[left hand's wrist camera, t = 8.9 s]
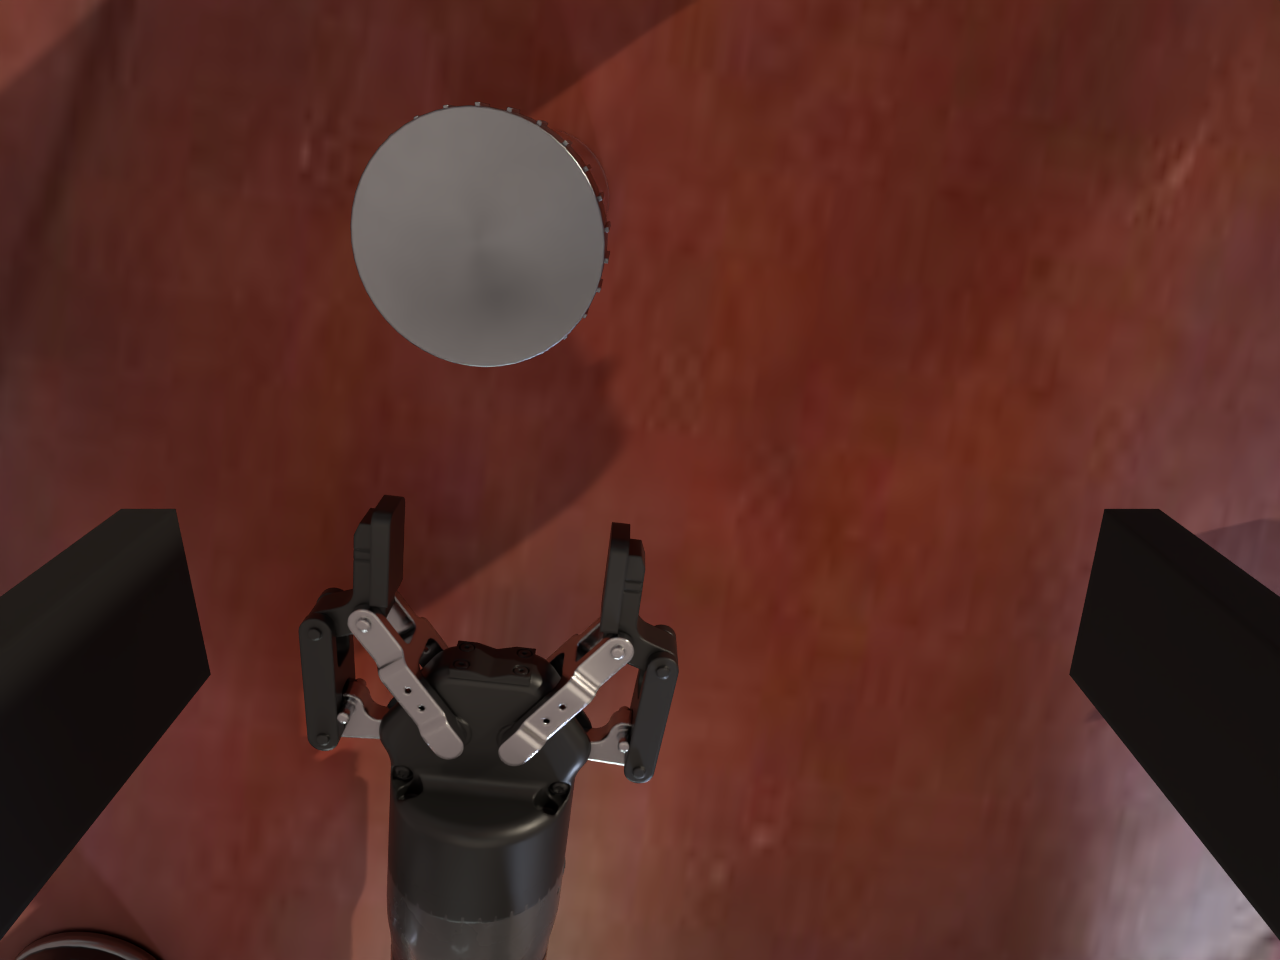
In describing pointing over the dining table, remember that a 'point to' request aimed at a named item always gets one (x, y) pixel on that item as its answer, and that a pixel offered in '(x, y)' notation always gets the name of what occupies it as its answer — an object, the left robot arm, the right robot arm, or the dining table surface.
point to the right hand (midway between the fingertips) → (504, 517)
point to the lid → (479, 234)
